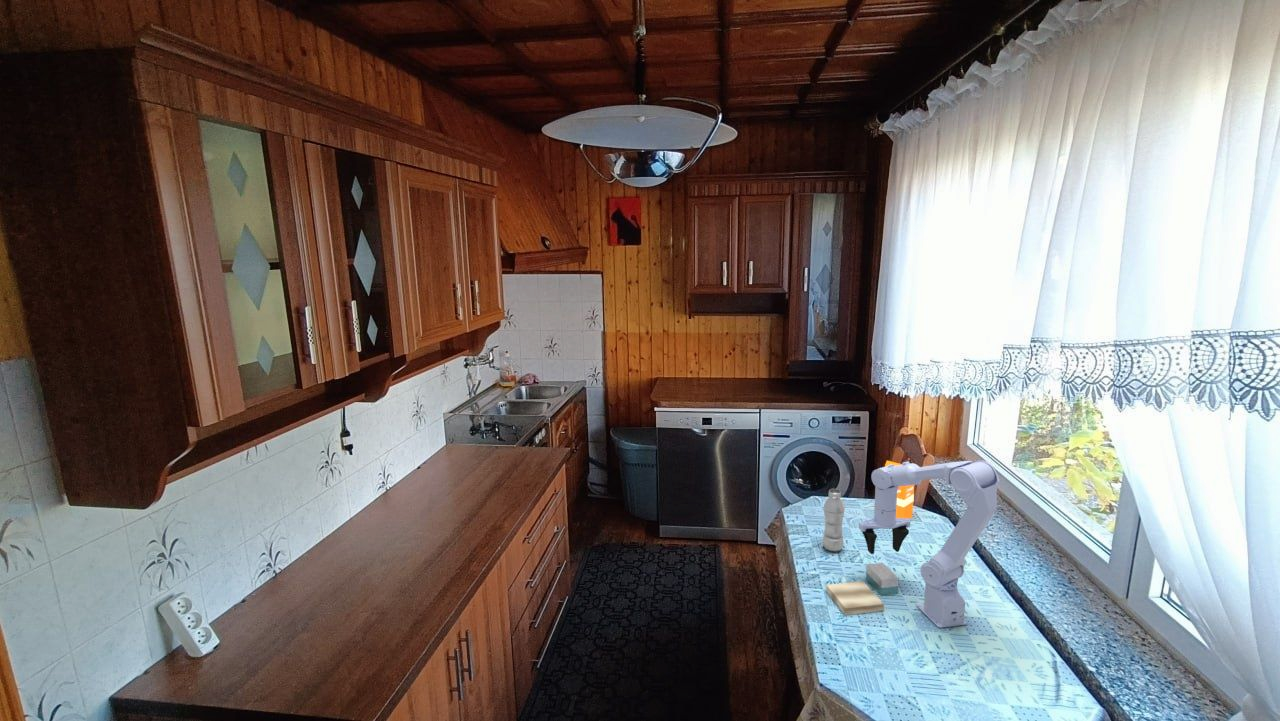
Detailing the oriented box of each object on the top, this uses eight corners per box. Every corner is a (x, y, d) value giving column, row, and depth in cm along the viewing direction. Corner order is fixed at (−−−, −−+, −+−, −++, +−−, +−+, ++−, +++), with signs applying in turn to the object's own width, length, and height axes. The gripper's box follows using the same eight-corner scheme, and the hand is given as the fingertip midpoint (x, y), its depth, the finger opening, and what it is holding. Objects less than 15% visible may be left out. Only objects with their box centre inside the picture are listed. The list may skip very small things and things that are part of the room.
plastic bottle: (820, 551, 179) (822, 493, 176) (824, 542, 185) (826, 485, 182) (841, 556, 176) (843, 497, 173) (844, 546, 182) (846, 488, 179)
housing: (897, 594, 156) (898, 577, 155) (881, 596, 156) (882, 579, 155) (881, 578, 164) (882, 562, 163) (865, 580, 163) (866, 564, 162)
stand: (883, 610, 149) (884, 604, 148) (844, 615, 147) (845, 608, 147) (862, 587, 160) (862, 580, 159) (826, 591, 158) (826, 584, 158)
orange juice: (888, 508, 208) (891, 457, 204) (912, 516, 201) (916, 463, 198) (878, 514, 203) (881, 463, 199) (902, 523, 196) (905, 469, 193)
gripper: (901, 499, 163) (899, 542, 165) (854, 503, 161) (852, 546, 164) (915, 509, 156) (913, 554, 158) (866, 514, 154) (864, 559, 157)
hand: (883, 551), depth 161 cm, fingers open, 7 cm apart
